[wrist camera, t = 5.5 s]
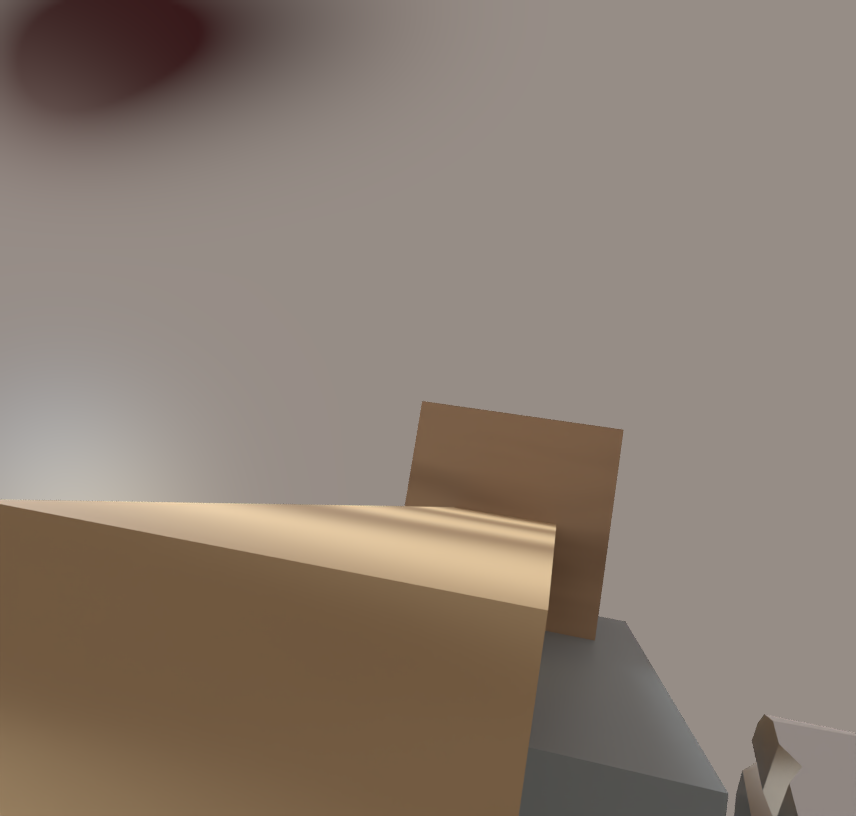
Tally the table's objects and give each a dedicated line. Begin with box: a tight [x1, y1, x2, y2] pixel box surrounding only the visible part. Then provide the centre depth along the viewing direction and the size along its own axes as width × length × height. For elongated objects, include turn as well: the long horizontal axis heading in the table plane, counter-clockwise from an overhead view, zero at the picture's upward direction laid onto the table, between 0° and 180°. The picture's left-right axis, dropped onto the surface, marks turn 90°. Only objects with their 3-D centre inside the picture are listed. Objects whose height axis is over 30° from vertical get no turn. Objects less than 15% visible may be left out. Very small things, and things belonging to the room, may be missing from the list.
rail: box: [0, 401, 623, 816], centre depth 18 cm, size 28×7×7 cm, turn 170°
